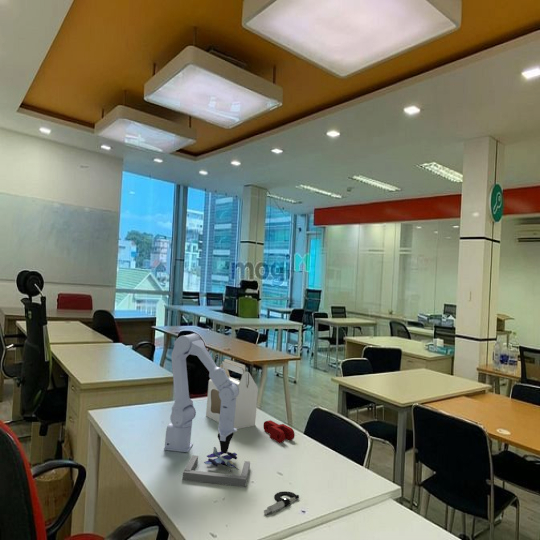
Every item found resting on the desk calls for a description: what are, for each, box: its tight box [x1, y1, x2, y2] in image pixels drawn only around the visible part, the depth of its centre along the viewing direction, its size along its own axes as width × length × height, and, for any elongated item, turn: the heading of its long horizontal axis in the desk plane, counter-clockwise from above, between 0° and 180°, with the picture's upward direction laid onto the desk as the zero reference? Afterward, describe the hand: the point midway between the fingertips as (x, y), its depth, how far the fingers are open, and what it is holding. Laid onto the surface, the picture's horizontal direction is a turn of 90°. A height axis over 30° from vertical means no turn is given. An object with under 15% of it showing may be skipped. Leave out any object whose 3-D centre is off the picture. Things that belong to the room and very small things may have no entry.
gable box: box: [205, 358, 259, 430], centre depth 191 cm, size 22×13×28 cm, turn 43°
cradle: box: [182, 455, 251, 488], centre depth 138 cm, size 21×13×2 cm, turn 87°
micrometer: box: [263, 491, 300, 516], centre depth 124 cm, size 15×7×2 cm, turn 135°
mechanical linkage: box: [262, 420, 296, 444], centre depth 176 cm, size 16×7×5 cm, turn 38°
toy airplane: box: [203, 446, 240, 473], centre depth 143 cm, size 13×14×4 cm
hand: (224, 452), depth 151 cm, fingers closed
